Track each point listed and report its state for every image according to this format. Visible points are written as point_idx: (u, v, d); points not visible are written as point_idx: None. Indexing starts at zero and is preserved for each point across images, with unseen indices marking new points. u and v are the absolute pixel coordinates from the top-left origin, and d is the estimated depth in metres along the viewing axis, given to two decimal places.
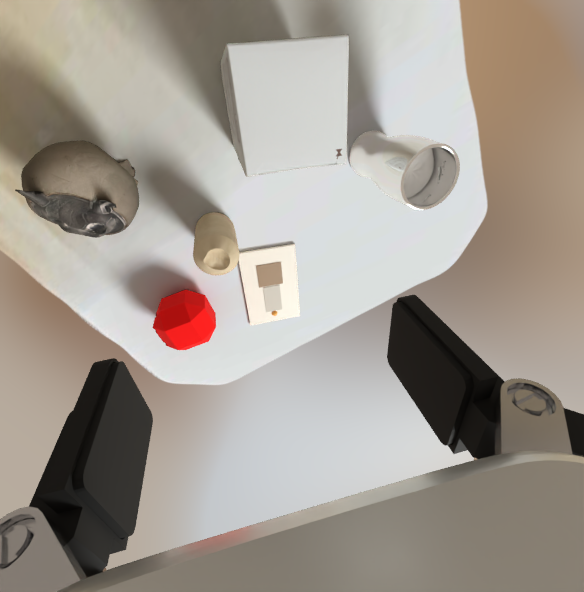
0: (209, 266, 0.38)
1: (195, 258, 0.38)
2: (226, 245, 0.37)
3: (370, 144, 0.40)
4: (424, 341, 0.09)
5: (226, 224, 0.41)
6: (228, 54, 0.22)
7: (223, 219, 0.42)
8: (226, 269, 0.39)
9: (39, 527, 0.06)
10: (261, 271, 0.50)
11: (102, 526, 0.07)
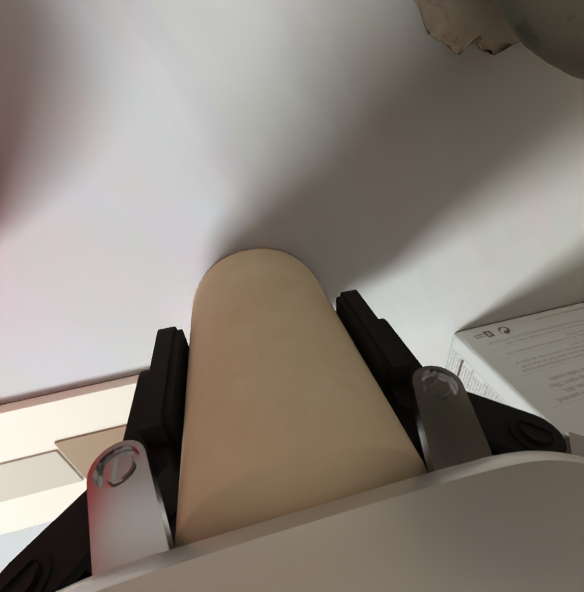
0: None
1: (310, 466, 0.05)
2: None
3: None
4: (356, 332, 0.10)
5: None
6: None
7: None
8: None
9: (141, 455, 0.07)
10: (122, 434, 0.15)
11: None
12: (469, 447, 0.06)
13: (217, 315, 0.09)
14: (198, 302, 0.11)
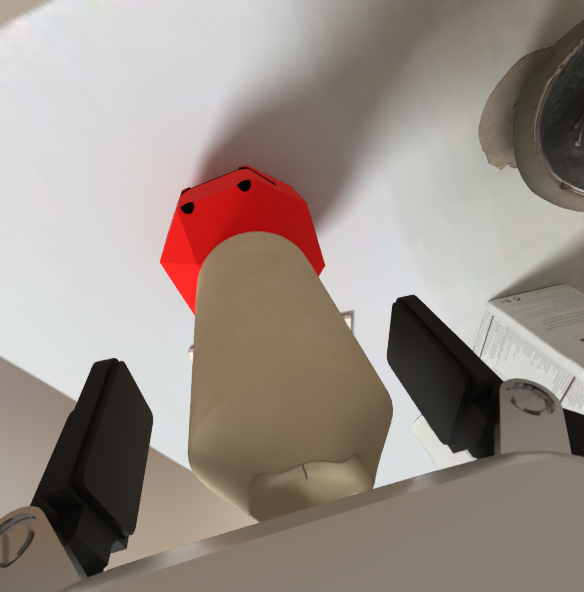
0: (268, 469, 0.07)
1: (294, 380, 0.07)
2: None
3: None
4: (423, 341, 0.09)
5: None
6: None
7: None
8: (245, 512, 0.08)
9: (40, 526, 0.06)
10: None
11: (102, 526, 0.07)
12: None
13: (220, 283, 0.11)
14: (202, 277, 0.13)
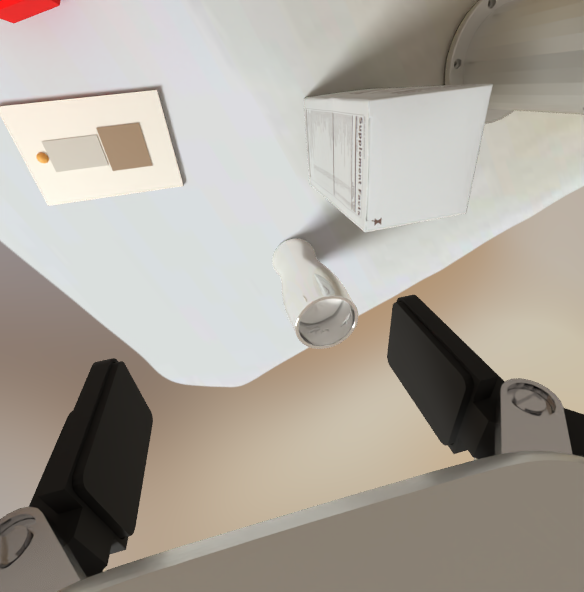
0: None
1: None
2: None
3: (314, 257, 0.40)
4: (424, 341, 0.09)
5: None
6: (484, 85, 0.21)
7: None
8: None
9: (39, 527, 0.06)
10: (128, 131, 0.31)
11: (102, 526, 0.07)
12: None
13: None
14: None
